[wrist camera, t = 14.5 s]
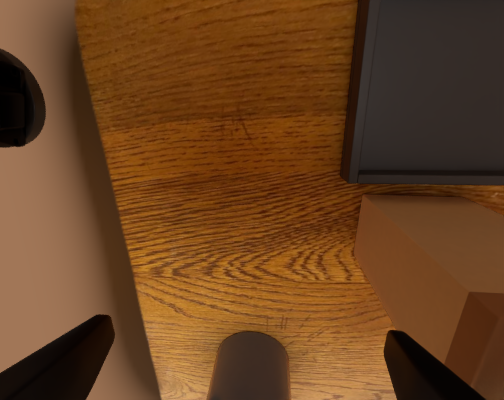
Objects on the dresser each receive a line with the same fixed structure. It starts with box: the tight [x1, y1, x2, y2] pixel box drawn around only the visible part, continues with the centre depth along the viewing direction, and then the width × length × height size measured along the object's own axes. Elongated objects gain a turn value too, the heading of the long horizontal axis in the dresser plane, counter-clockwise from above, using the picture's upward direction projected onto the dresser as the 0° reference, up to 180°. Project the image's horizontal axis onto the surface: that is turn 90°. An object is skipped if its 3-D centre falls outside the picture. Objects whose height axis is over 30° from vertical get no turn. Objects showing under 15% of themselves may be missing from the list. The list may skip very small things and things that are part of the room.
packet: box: [353, 194, 504, 400], centre depth 14 cm, size 7×5×12 cm
